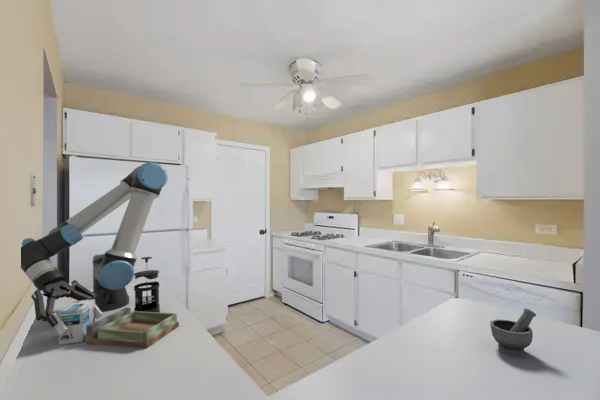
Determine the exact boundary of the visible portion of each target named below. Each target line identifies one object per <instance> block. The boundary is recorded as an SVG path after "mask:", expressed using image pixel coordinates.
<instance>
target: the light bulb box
mask: <svg viewBox="0 0 600 400" xmlns="http://www.w3.org/2000/svg"><path fill="white" fill-rule="evenodd" d="M58 316H59V317H60V319H61V320H62V321H63V323H64V324H65V325H66V326H67V328H68V329H67V330H66V331H65V333H64V334H62V335H60V334H59V333H58V345H59V346H60V345H62V346H63V345H68V344H75V343H76V344H77V343H83V342H84V341H85V340H87V334H86V326H87V325H89V324H91V323H93V322H96V318H95V299H93V300H88V299H87V300H82V301H78V300H73V301H72V302H71V303H69V304H68V305H66V306H64V307H63V308H62V309H60V310H58Z"/></svg>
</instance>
